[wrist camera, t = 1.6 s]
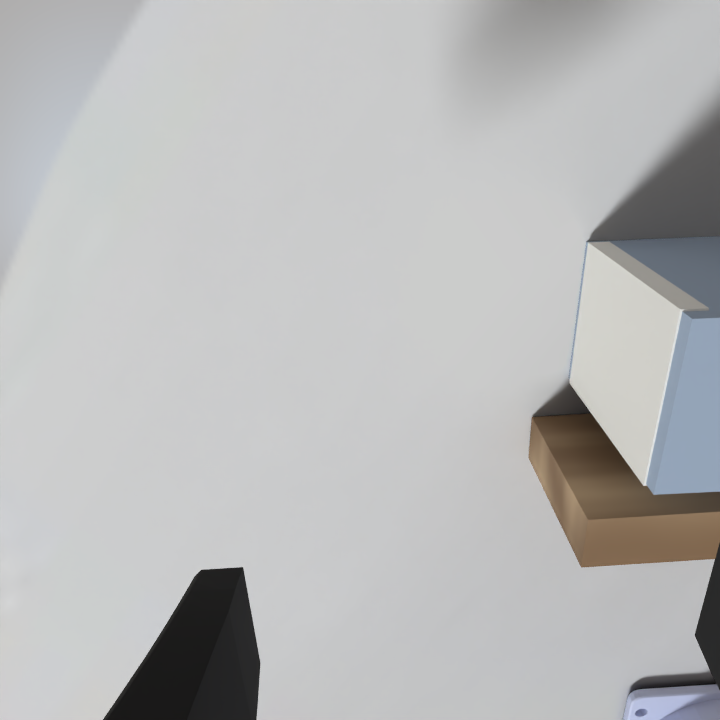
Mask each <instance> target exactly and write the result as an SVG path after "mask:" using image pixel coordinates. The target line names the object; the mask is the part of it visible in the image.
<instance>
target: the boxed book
mask: <svg viewBox="0 0 720 720" xmlns="http://www.w3.org/2000/svg"><path fill="white" fill-rule="evenodd" d="M569 379H570V384H571V386H572V387H573V389H574V390H575V391H576V393H577V394H578V396H579V397H580V398H581V400H582V401H583V403H584V404H585V405H586V407H587V408H588V409H589V411H590V412H591V414H592V415H593V416H594V418H595V419H596V421H597V422H598V423H599V425H600V426H601V428H602V429H603V430H604V432H605V433H606V434H607V436H608V437H609V439H610V440H611V441H612V443H613V444H614V446H615V447H616V448H617V450H618V451H619V453H620V454H621V455H622V457H623V458H624V460H625V461H626V462H627V464H628V465H629V466H630V468H631V469H632V471H633V472H634V473H635V475H636V476H637V478H638V479H639V480H640V482H641V483H642V485H643V486H648V488H649V489H650V490H651V492H652V493H653V495H658V494H679V493H700V492H720V236H711V237H687V238H663V239H639V240H615V241H590V242H586V249H585V256H584V264H583V272H582V279H581V287H580V294H579V302H578V310H577V317H576V325H575V333H574V340H573V348H572V356H571V363H570V371H569Z"/></svg>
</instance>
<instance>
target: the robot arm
mask: <svg viewBox="0 0 720 720" xmlns="http://www.w3.org/2000/svg"><path fill="white" fill-rule="evenodd" d="M695 637H696V639H697V641H698V644H699V646H700V648H701V651H702V653H703V655H704V657H705V660H706V662H707V664H708V666H709V669H710V671H711V673H712V675H713V677H714V680H715V682H716V684H711V685H696V686H680V687H665V688H650V689H638V690H635V691H633V692H632V693H630V694H629V696H628V699H627V704H626V708H625V713H624V718H623V720H720V543H719V547H718V550H717V554H716V558H715V562H714V565H713V569H712V573H711V577H710V580H709V584H708V588H707V591H706V595H705V599H704V603H703V606H702V610H701V614H700V618H699V621H698V625H697V629H696V633H695ZM259 674H260V659H259V654H258V648H257V643H256V637H255V632H254V626H253V620H252V615H251V609H250V604H249V598H248V593H247V587H246V582H245V576H244V571H243V567H240V568H224V569H209V570H201V571H200V572H199V573H198V574H197V575H196V576H195V577H194V579H193V580H192V582H191V584H190V586H189V587H188V589H187V591H186V592H185V594H184V596H183V597H182V599H181V601H180V602H179V604H178V606H177V608H176V609H175V611H174V612H173V614H172V616H171V617H170V619H169V621H168V622H167V624H166V625H165V627H164V629H163V630H162V632H161V633H160V635H159V637H158V638H157V640H156V641H155V643H154V644H153V646H152V648H151V649H150V651H149V652H148V654H147V655H146V657H145V659H144V660H143V662H142V663H141V664H140V666H139V667H138V669H137V670H136V672H135V673H134V675H133V676H132V678H131V679H130V681H129V682H128V684H127V685H126V687H125V688H124V690H123V691H122V693H121V694H120V696H119V697H118V699H117V700H116V702H115V703H114V705H113V706H112V707H111V709H110V710H109V712H108V713H107V715H106V716H105V718H104V719H103V720H256V716H257V704H258V689H259Z"/></svg>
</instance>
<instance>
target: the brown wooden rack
mask: <svg viewBox="0 0 720 720" xmlns="http://www.w3.org/2000/svg"><path fill="white" fill-rule="evenodd" d="M529 460H530V462H531V464H532V466H533V468H534V470H535V472H536V474H537V476H538V478H539V480H540V482H541V485H542V487H543V489H544V491H545V493H546V495H547V497H548V499H549V501H550V503H551V505H552V507H553V510H554V512H555V514H556V516H557V518H558V520H559V522H560V524H561V526H562V528H563V530H564V532H565V534H566V537H567V539H568V541H569V543H570V545H571V547H572V549H573V551H574V553H575V555H576V557H577V559H578V562H579V564H580V566H581V567H594V566H610V565H626V564H641V563H657V562H673V561H688V560H704V559H715V558H716V554H717V550H718V547H719V543H720V492H700V493H679V494H658V495H653V493H652V492H651V490H650V489H649V488H648V486H643V485H642V483H641V482H640V480H639V479H638V478H637V476H636V475H635V473H634V472H633V471H632V469H631V468H630V466H629V465H628V464H627V462H626V461H625V460H624V458H623V457H622V455H621V454H620V453H619V451H618V450H617V448H616V447H615V446H614V444H613V443H612V441H611V440H610V439H609V437H608V436H607V434H606V433H605V432H604V430H603V429H602V428H601V426H600V425H599V423H598V422H597V421H596V419H595V418H594V416H593V415H592V414H591V413H589V414H573V415H557V416H541V417H532V422H531V434H530V446H529Z"/></svg>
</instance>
